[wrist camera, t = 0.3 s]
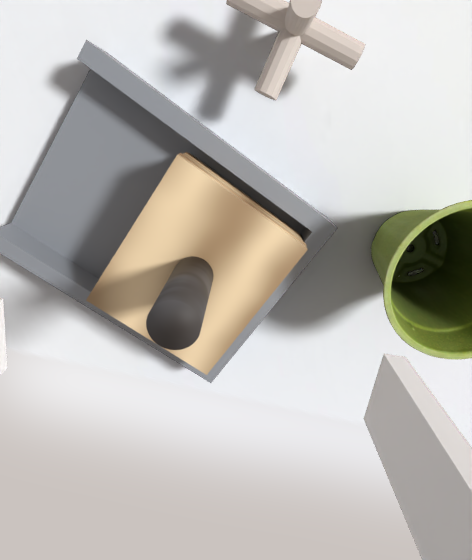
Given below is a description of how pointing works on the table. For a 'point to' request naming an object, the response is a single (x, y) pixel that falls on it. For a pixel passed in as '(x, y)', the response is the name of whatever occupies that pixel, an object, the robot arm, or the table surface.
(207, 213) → the wooden block with peg
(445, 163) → the table surface
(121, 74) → the bay
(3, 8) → the table surface
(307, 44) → the pipe connector
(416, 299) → the plant pot
